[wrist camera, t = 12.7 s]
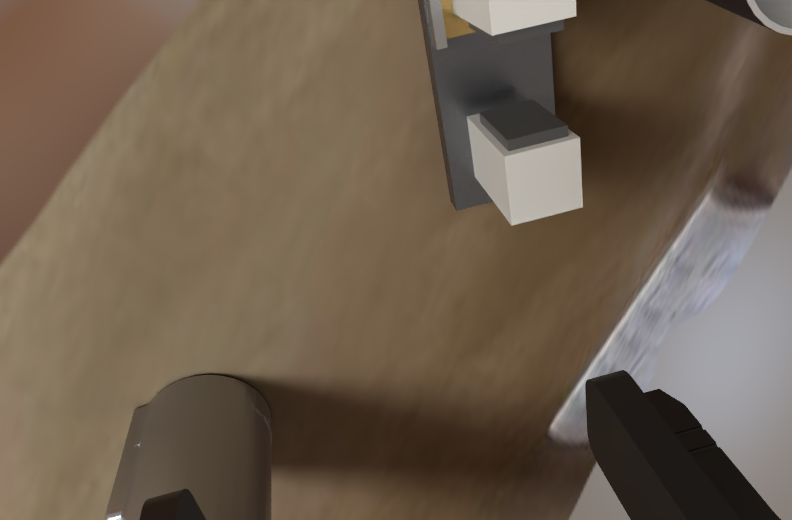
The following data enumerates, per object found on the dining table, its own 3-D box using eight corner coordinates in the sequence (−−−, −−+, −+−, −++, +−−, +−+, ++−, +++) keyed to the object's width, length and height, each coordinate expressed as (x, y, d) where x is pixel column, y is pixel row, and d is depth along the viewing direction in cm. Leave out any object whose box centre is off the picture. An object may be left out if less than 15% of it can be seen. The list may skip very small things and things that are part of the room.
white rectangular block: (475, 176, 39) (511, 225, 33) (465, 106, 37) (502, 145, 31) (535, 161, 39) (582, 207, 33) (529, 90, 37) (579, 126, 31)
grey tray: (450, 201, 41) (461, 218, 39) (400, -107, 32) (410, -108, 30) (550, 175, 42) (567, 191, 39) (529, -136, 32) (549, -139, 30)
